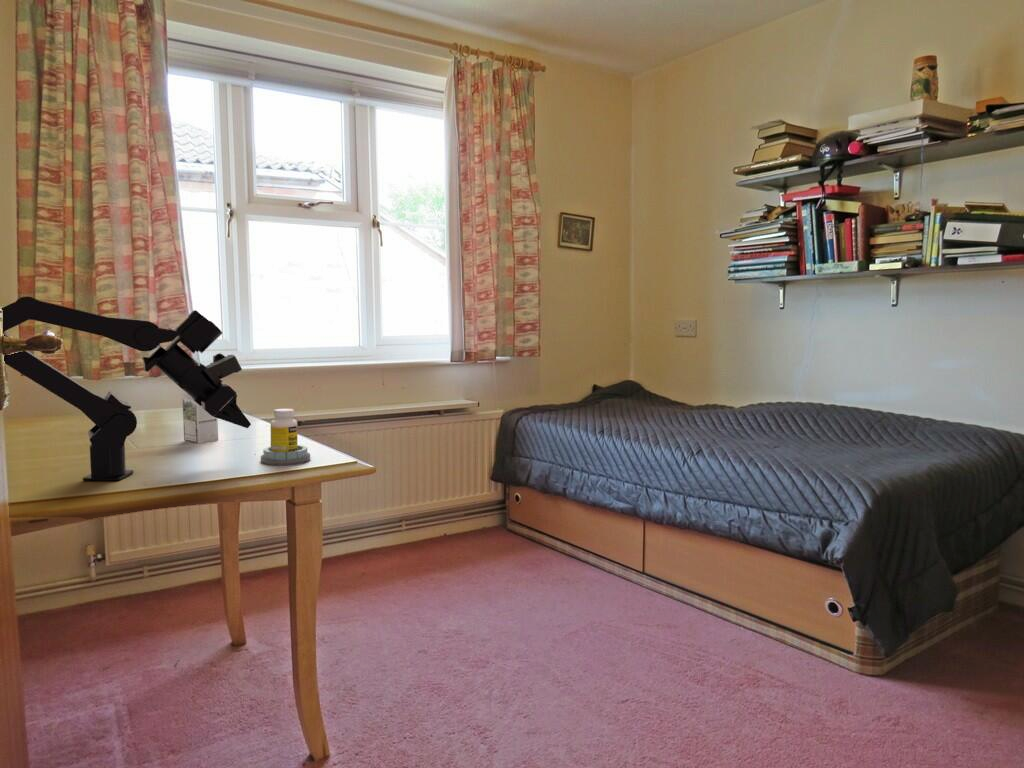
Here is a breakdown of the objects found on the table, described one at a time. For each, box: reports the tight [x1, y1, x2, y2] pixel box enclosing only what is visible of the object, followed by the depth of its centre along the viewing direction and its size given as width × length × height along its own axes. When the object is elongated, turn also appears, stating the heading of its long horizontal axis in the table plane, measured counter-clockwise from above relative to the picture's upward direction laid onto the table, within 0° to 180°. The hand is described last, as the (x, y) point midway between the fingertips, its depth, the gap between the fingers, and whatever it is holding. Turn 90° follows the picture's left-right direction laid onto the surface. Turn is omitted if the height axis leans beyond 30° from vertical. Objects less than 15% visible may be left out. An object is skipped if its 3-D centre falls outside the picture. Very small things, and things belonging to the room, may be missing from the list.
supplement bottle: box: [270, 408, 298, 452], centre depth 150 cm, size 5×5×10 cm
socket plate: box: [260, 444, 311, 466], centre depth 151 cm, size 10×10×2 cm
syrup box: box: [181, 388, 219, 444], centre depth 170 cm, size 6×6×14 cm
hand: (244, 422), depth 146 cm, fingers open, 9 cm apart
